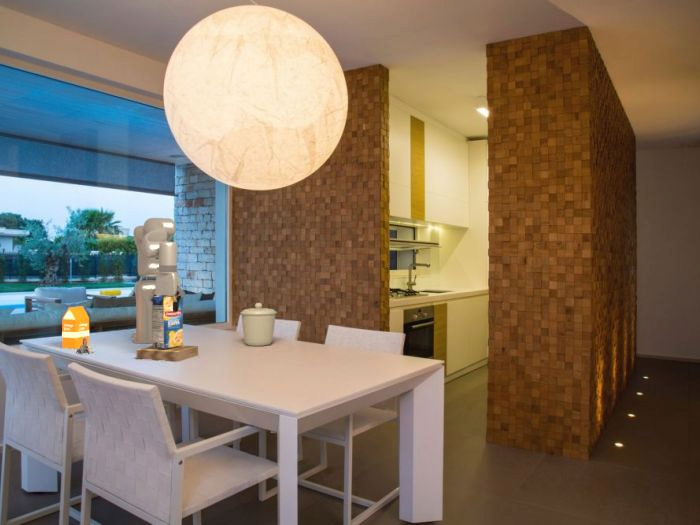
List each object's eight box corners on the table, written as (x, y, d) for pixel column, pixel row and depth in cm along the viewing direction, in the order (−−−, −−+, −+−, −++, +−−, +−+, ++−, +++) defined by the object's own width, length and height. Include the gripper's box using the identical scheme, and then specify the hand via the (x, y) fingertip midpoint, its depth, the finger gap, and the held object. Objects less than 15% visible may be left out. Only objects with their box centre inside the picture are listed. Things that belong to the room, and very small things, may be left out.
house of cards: (64, 356, 241) (64, 339, 241) (78, 353, 249) (78, 336, 249) (81, 357, 238) (81, 340, 238) (95, 354, 247) (95, 337, 247)
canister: (280, 342, 282) (280, 301, 281) (271, 348, 264) (271, 304, 263) (246, 341, 283) (246, 301, 283) (235, 347, 265) (235, 304, 265)
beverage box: (152, 347, 235) (152, 296, 235) (171, 343, 245) (172, 295, 245) (163, 348, 232) (163, 297, 232) (183, 345, 242) (183, 295, 241)
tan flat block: (136, 359, 233) (136, 349, 233) (159, 353, 249) (159, 343, 249) (177, 361, 228) (177, 351, 228) (198, 355, 243) (198, 345, 243)
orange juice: (61, 349, 257) (61, 307, 257) (76, 347, 265) (76, 305, 265) (75, 350, 254) (75, 307, 254) (89, 347, 263) (89, 306, 263)
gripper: (145, 269, 237) (145, 310, 237) (180, 270, 232) (180, 311, 232) (155, 269, 244) (155, 309, 244) (190, 269, 239) (190, 310, 240)
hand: (167, 310), depth 238 cm, fingers closed on beverage box, 7 cm apart
